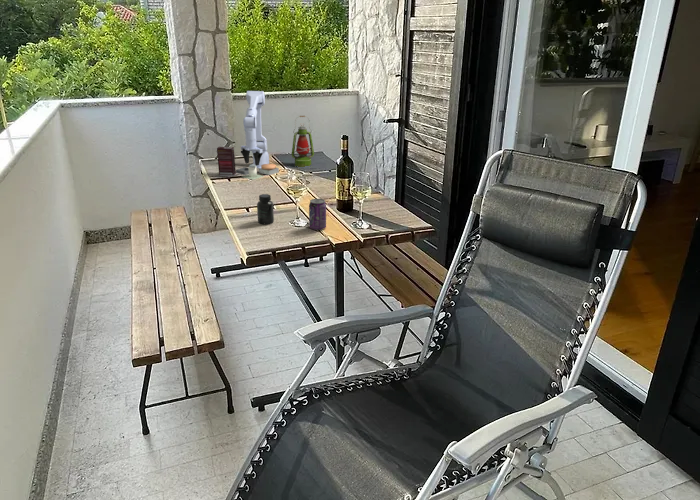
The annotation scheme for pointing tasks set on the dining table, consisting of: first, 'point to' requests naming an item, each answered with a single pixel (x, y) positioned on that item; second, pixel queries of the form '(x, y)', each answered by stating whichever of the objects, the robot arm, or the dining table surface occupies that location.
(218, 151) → the supplement box
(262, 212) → the supplement bottle
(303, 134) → the lantern
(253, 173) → the cylinder
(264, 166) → the tan rounded dome
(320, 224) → the beverage can
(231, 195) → the dining table surface
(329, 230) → the dining table surface
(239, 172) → the dock
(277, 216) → the dining table surface
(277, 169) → the button housing
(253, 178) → the mat
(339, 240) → the dining table surface
